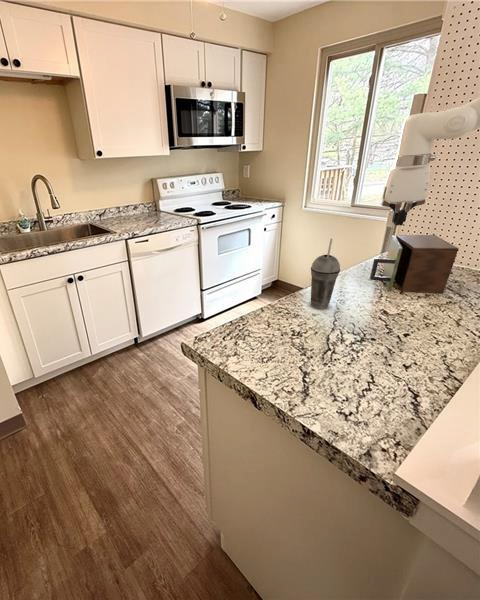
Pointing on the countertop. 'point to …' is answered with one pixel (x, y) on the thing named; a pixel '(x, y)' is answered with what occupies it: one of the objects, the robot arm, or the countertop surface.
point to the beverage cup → (323, 279)
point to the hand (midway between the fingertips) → (397, 224)
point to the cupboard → (424, 263)
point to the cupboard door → (388, 264)
